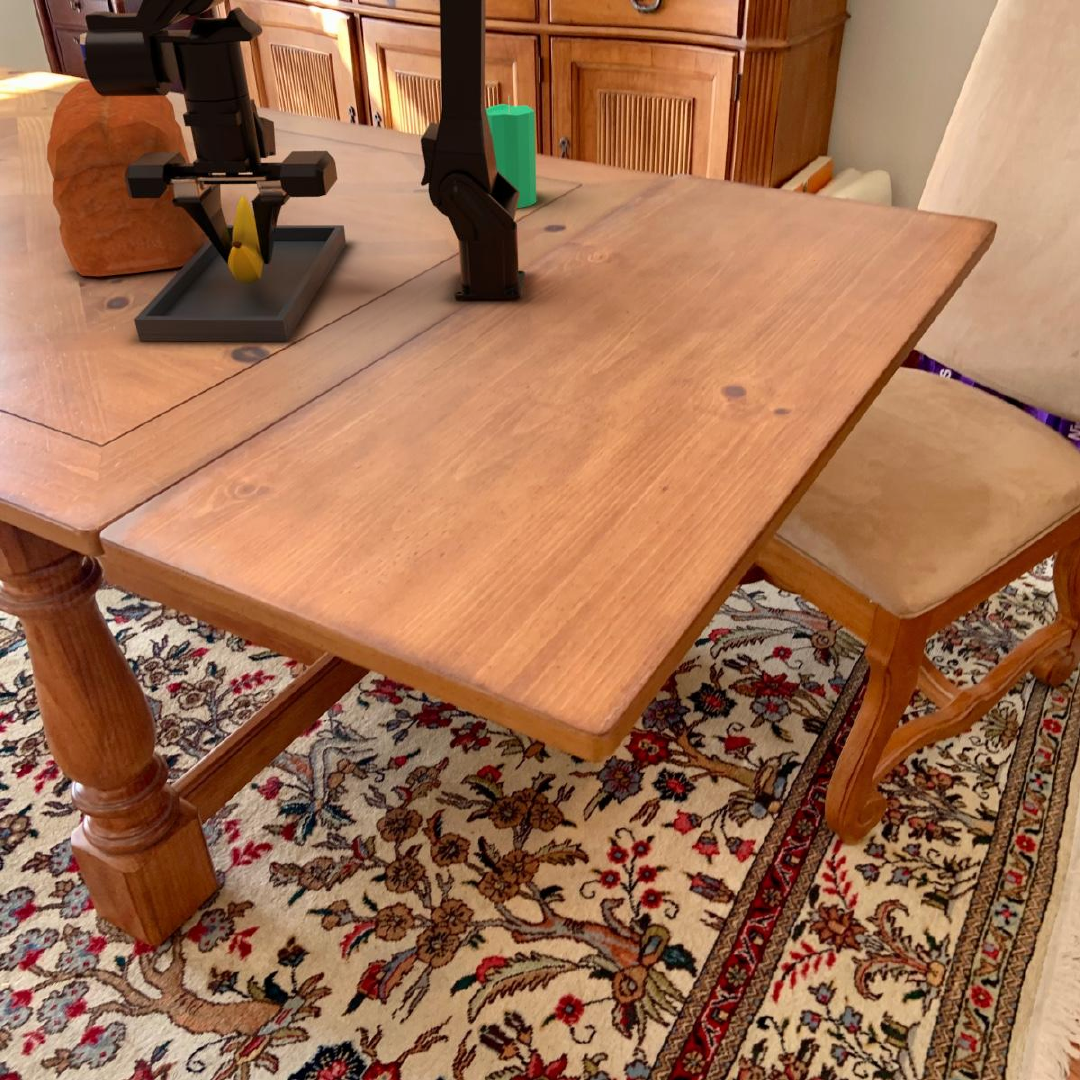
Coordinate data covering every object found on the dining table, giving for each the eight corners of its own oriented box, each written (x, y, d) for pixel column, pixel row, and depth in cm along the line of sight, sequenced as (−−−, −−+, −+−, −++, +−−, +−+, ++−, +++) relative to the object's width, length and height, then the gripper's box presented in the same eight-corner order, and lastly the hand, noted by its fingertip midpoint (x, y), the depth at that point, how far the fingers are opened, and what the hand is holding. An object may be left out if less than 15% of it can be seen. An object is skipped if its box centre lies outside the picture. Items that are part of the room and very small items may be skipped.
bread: (69, 283, 104) (23, 129, 96) (81, 207, 125) (44, 74, 117) (210, 266, 108) (177, 115, 99) (199, 194, 129) (171, 64, 120)
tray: (286, 341, 92) (282, 319, 91) (139, 340, 93) (133, 319, 91) (346, 243, 113) (343, 225, 111) (225, 243, 113) (221, 225, 112)
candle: (531, 209, 121) (528, 102, 114) (482, 207, 122) (476, 100, 115) (541, 194, 126) (539, 90, 119) (494, 192, 127) (489, 89, 120)
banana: (265, 241, 110) (255, 181, 106) (265, 308, 94) (253, 241, 91) (237, 243, 109) (226, 183, 105) (233, 311, 94) (220, 243, 90)
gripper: (338, 74, 98) (358, 235, 107) (148, 77, 99) (184, 235, 108) (310, 101, 89) (335, 274, 98) (102, 104, 90) (146, 274, 99)
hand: (249, 262), depth 101 cm, fingers closed on banana, 3 cm apart
